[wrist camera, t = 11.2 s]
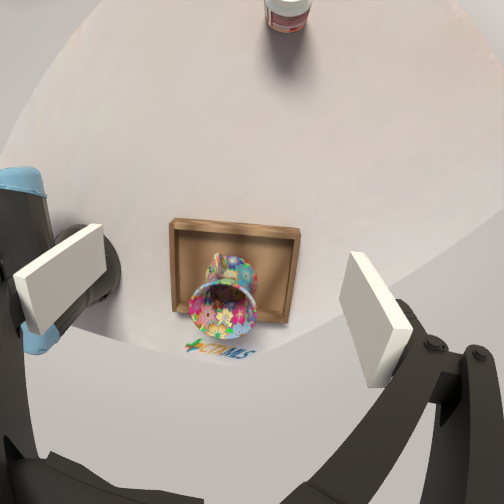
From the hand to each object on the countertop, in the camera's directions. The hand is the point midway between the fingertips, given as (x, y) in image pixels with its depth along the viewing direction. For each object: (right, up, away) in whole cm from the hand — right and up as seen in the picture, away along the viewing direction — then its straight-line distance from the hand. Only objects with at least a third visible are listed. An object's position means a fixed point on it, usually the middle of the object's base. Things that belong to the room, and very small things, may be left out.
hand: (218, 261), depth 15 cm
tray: (-1, -2, +35) cm, 35 cm away
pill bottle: (+7, +35, +20) cm, 41 cm away
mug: (-2, -2, +35) cm, 35 cm away
